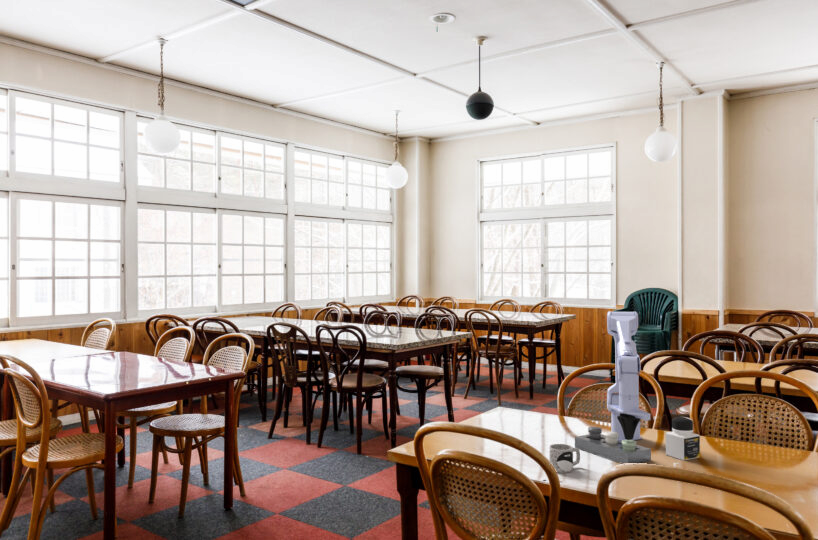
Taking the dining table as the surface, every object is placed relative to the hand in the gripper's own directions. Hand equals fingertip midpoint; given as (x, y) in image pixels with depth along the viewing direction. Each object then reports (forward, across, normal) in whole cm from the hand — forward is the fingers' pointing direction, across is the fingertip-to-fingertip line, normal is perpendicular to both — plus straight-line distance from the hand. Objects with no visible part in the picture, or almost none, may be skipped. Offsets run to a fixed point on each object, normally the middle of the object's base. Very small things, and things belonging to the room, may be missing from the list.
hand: (629, 439), depth 194 cm
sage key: (+5, 0, 0) cm, 5 cm away
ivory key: (+4, -7, 0) cm, 8 cm away
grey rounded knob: (+4, -14, 0) cm, 14 cm away
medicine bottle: (+6, +6, +17) cm, 19 cm away
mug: (+6, -3, -23) cm, 24 cm away
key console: (+6, -7, 0) cm, 9 cm away
